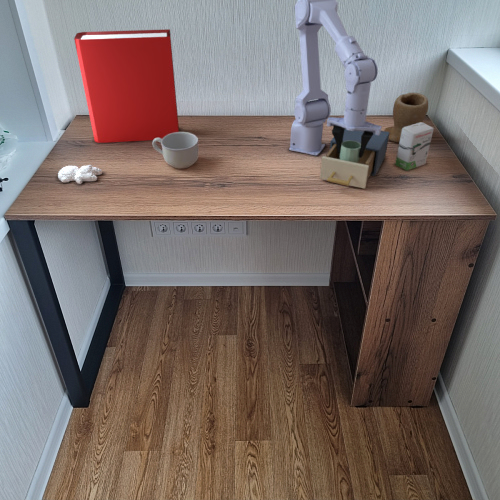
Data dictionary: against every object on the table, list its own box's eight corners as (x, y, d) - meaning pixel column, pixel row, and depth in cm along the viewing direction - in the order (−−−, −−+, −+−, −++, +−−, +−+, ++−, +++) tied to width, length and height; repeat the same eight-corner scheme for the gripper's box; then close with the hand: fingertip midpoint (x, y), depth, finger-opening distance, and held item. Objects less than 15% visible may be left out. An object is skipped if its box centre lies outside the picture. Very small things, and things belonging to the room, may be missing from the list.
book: (178, 128, 173) (169, 29, 154) (179, 138, 167) (169, 36, 147) (97, 132, 170) (77, 32, 151) (94, 143, 164) (73, 39, 145)
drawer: (360, 197, 136) (363, 175, 132) (314, 186, 141) (316, 165, 137) (375, 169, 149) (378, 148, 145) (332, 160, 153) (335, 140, 149)
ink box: (406, 171, 149) (414, 134, 142) (393, 164, 153) (401, 127, 145) (426, 163, 153) (435, 127, 146) (413, 157, 156) (421, 121, 149)
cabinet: (374, 176, 147) (379, 150, 142) (327, 166, 152) (330, 140, 147) (385, 156, 157) (389, 132, 152) (340, 148, 161) (343, 123, 156)
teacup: (206, 160, 155) (204, 135, 150) (188, 175, 147) (185, 150, 142) (167, 151, 159) (164, 127, 155) (147, 166, 152) (144, 141, 147)
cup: (342, 152, 145) (344, 138, 143) (361, 156, 144) (363, 142, 141) (337, 160, 141) (338, 146, 139) (356, 164, 140) (358, 150, 137)
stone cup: (389, 148, 161) (398, 102, 152) (380, 132, 171) (387, 88, 162) (436, 147, 162) (447, 101, 153) (424, 131, 171) (434, 87, 162)
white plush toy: (92, 186, 142) (90, 176, 141) (53, 181, 144) (50, 172, 142) (105, 171, 149) (103, 161, 147) (67, 167, 151) (65, 158, 149)
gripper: (325, 107, 133) (320, 154, 141) (380, 117, 128) (372, 165, 136) (333, 98, 138) (328, 144, 146) (386, 107, 133) (378, 154, 141)
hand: (350, 153), depth 142 cm, fingers closed on cup, 5 cm apart
